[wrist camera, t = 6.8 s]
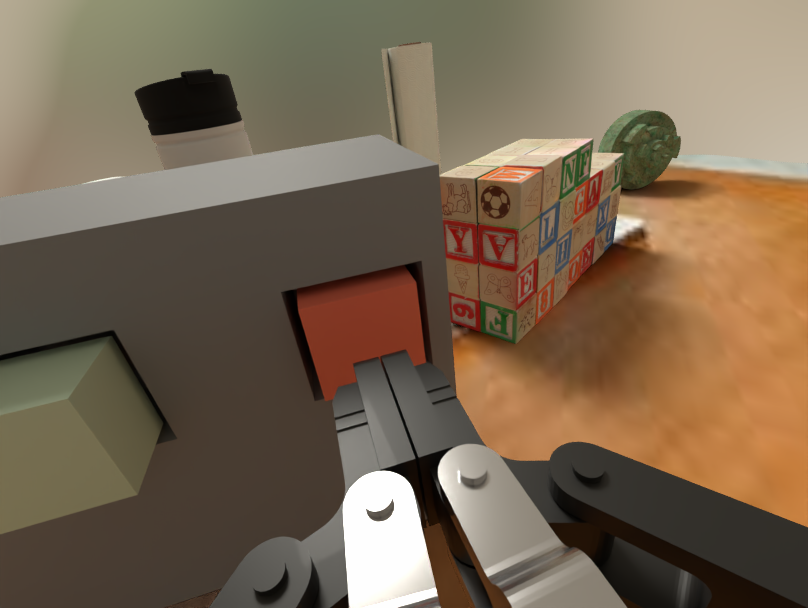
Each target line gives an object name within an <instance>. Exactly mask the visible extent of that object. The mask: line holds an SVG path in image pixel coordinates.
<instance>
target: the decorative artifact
mask: <svg viewBox="0 0 808 608" xmlns="http://www.w3.org/2000/svg"><path fill="white" fill-rule="evenodd" d="M680 144H681V138H680V136H677V133H676V127H675V125H674V122H673V121H672V119H671V118H670V117H669V116H668V115H666V114H665V113H663V112H659V111H650V110H635V111H631V112H629V113H626V114H624V115H623V116H621V117H620V118H619V119H617V120H616V121H615V122H614V123H613V124H612V125H611V126H610V128H609V129H608V130H607V132H606V133H605V135H604V137H603V139H602V141H601V143H600V146H599V150H598V153H624V161H623V168H622V176H621V182H620V186H621V187H622V188H625V189H638V188H642V187H644V186H646V185H648V184H650V183H651V182H653V181H654V180H656V179H657V178H658V177H659V176H660V175H661V174H662V173H663V171H664V170H665V169H666V167H667V166H668V164H669V163H670V161H671V159H672V157H673V158H677V156H678V153H679V150H680Z"/></svg>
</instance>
